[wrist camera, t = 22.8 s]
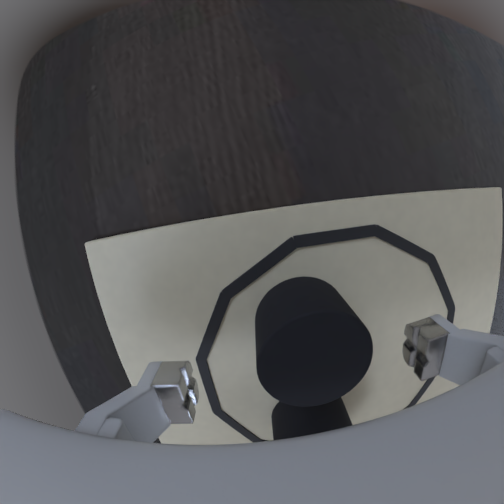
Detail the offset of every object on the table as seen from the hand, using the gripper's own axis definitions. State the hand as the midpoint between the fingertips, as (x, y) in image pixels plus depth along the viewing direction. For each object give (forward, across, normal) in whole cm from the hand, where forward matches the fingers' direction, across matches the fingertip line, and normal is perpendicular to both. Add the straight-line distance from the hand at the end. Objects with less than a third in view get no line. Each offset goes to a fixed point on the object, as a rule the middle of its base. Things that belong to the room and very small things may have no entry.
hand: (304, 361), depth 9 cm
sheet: (+3, -2, +10) cm, 11 cm away
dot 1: (+3, 0, 0) cm, 3 cm away
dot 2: (+3, 0, +6) cm, 6 cm away
